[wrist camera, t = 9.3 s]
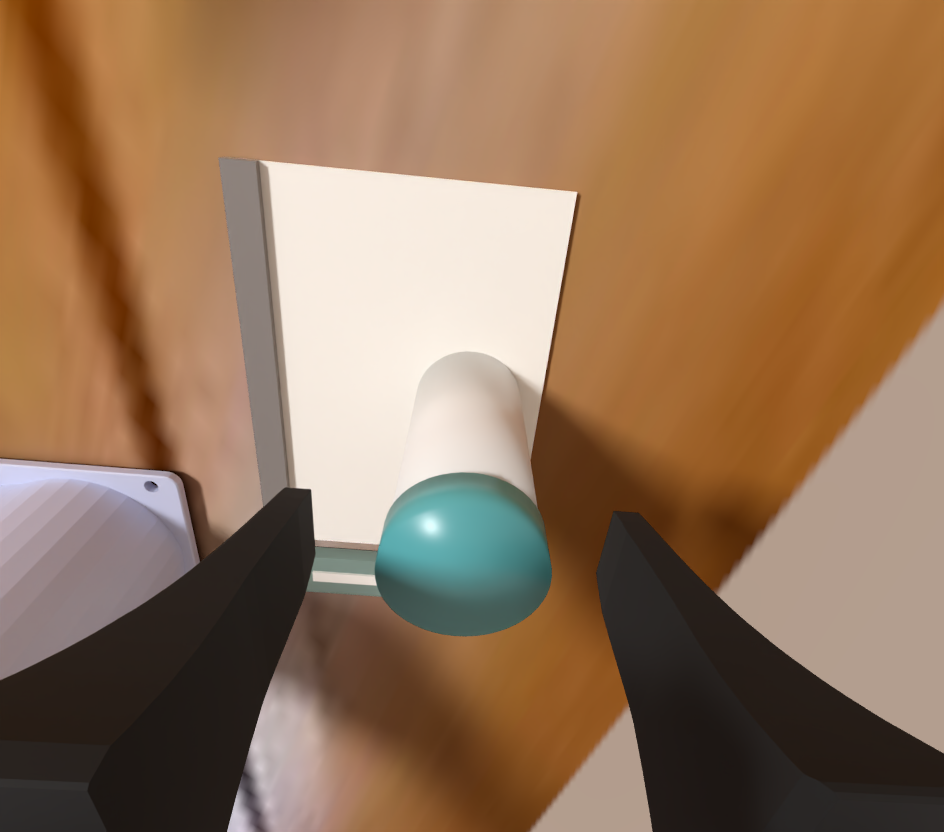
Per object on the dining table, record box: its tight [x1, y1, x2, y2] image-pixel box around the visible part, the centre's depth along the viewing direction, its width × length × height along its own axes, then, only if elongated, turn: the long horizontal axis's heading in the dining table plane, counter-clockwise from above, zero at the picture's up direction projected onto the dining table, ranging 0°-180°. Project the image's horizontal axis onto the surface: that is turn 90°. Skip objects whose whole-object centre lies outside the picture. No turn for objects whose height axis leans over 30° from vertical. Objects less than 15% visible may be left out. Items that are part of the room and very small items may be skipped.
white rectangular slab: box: [219, 157, 577, 544], centre depth 19 cm, size 10×14×1 cm
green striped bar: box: [306, 547, 382, 597], centre depth 23 cm, size 8×2×1 cm, turn 85°
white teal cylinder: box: [375, 351, 552, 636], centre depth 15 cm, size 4×4×8 cm
